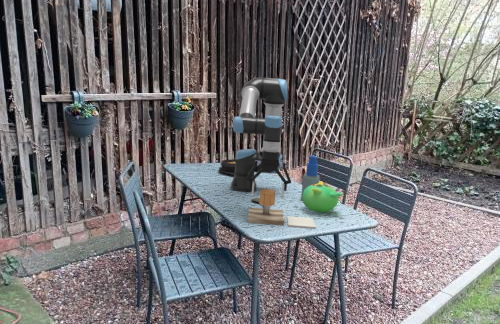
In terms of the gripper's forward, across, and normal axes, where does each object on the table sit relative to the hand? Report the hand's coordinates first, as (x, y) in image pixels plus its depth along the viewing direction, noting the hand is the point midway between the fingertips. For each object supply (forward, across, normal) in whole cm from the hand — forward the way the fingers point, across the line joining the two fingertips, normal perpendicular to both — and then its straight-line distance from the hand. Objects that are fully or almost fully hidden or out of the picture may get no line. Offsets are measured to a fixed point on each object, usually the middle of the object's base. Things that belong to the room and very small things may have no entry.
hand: (267, 196), depth 174 cm
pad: (+10, +16, -3) cm, 19 cm away
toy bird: (+10, +27, +17) cm, 34 cm away
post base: (+10, 0, 0) cm, 10 cm away
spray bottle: (+10, +24, +35) cm, 44 cm away
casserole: (+10, -23, +89) cm, 93 cm away
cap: (+3, 0, 0) cm, 3 cm away
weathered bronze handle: (+11, -2, +19) cm, 22 cm away
